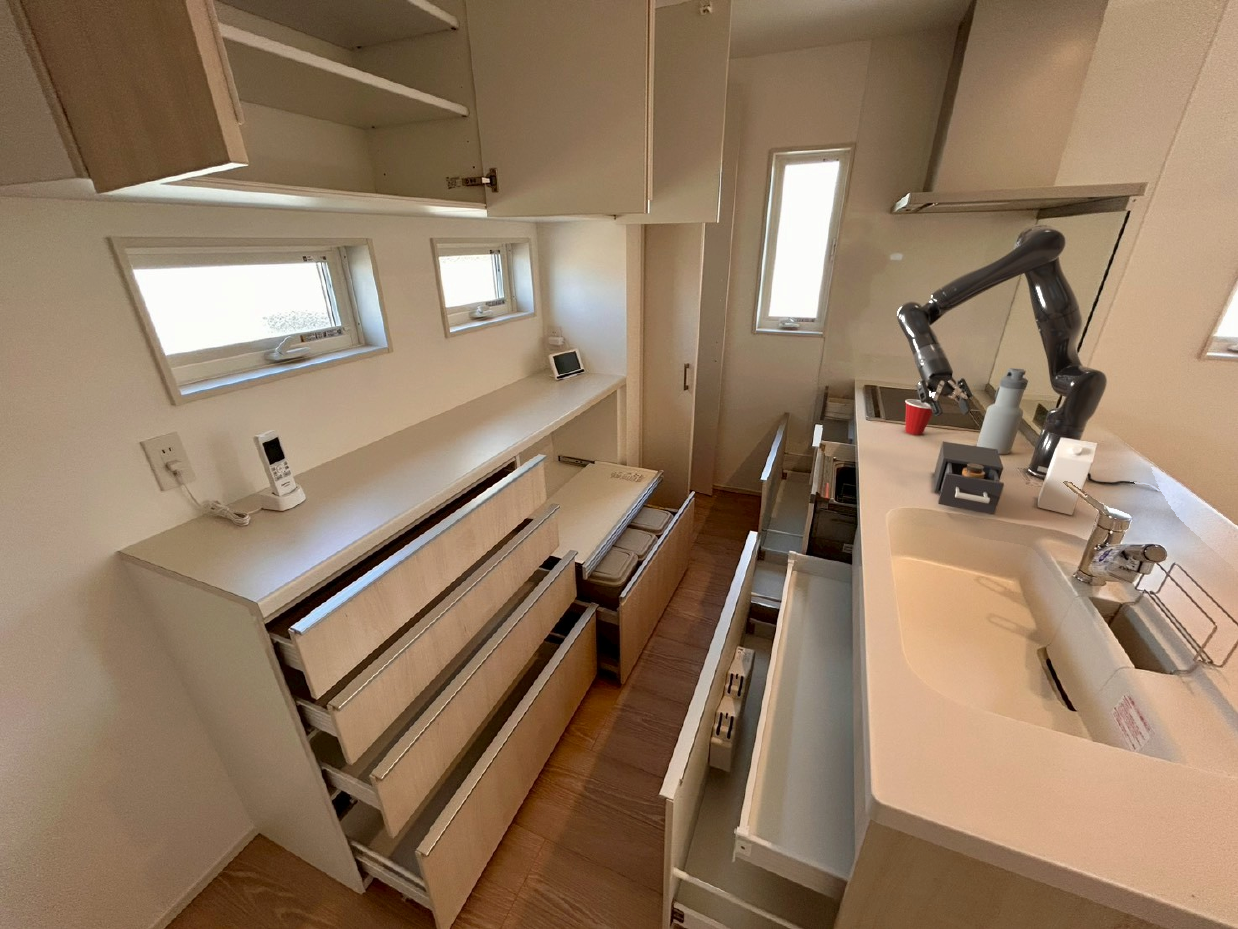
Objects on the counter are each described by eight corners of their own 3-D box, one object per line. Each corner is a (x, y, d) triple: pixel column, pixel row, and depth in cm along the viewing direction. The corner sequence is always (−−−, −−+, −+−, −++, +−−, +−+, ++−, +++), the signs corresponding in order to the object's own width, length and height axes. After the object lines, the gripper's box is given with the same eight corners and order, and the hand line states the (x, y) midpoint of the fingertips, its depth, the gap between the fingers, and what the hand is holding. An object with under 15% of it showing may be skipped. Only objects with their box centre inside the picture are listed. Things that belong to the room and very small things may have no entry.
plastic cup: (935, 438, 183) (944, 406, 178) (904, 436, 185) (911, 405, 180) (924, 428, 193) (931, 398, 188) (894, 427, 195) (900, 397, 190)
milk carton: (1037, 498, 138) (1060, 433, 131) (1071, 505, 134) (1097, 439, 126) (1036, 507, 133) (1060, 441, 125) (1071, 515, 129) (1098, 447, 121)
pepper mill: (975, 496, 135) (985, 464, 131) (977, 503, 131) (987, 470, 127) (955, 492, 137) (964, 461, 133) (955, 499, 133) (965, 467, 129)
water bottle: (974, 442, 178) (997, 365, 168) (1007, 447, 174) (1033, 367, 163) (977, 452, 170) (1002, 371, 159) (1012, 457, 166) (1040, 374, 155)
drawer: (996, 523, 123) (1006, 492, 120) (938, 512, 129) (946, 481, 126) (988, 493, 139) (997, 464, 136) (937, 484, 145) (944, 456, 141)
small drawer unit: (992, 503, 135) (1003, 467, 131) (934, 492, 142) (943, 458, 137) (986, 482, 148) (997, 449, 144) (933, 473, 154) (942, 441, 150)
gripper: (945, 370, 147) (965, 419, 141) (901, 372, 144) (920, 421, 138) (964, 355, 140) (986, 406, 134) (918, 357, 138) (939, 408, 132)
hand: (953, 414), depth 136 cm, fingers open, 8 cm apart
